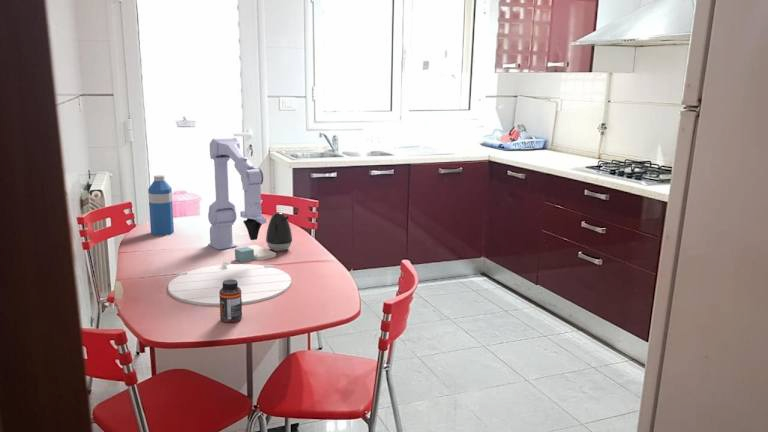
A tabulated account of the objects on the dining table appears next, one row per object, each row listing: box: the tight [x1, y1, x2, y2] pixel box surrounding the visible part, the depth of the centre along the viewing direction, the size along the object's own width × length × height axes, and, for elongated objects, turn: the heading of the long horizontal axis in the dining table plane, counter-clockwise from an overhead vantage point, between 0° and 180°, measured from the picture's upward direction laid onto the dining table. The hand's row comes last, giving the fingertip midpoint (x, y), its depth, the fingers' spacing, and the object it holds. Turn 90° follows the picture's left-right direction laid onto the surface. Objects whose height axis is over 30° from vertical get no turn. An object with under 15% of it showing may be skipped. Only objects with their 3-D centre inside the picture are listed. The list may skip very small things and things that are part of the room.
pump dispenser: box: [265, 211, 293, 252], centre depth 237 cm, size 10×10×15 cm
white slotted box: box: [240, 244, 277, 261], centre depth 232 cm, size 15×8×2 cm, turn 43°
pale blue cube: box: [234, 246, 255, 263], centre depth 224 cm, size 5×5×4 cm
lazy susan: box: [167, 260, 292, 307], centre depth 198 cm, size 40×39×3 cm
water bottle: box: [147, 174, 175, 237], centre depth 257 cm, size 9×9×25 cm
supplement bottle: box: [219, 279, 243, 324], centre depth 168 cm, size 6×6×11 cm
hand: (253, 239), depth 217 cm, fingers closed
